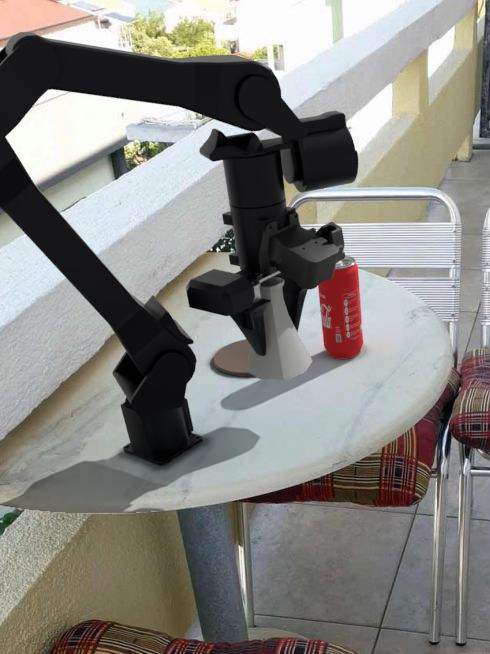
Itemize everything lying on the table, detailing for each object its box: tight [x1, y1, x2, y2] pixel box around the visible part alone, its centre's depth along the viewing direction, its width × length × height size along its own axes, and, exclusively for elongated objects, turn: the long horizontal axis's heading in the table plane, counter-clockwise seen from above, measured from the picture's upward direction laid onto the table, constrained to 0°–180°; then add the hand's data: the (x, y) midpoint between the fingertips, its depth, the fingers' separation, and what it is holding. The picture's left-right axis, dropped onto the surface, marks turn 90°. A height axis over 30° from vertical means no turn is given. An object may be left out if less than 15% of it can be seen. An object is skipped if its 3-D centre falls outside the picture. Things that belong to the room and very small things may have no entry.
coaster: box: [213, 338, 255, 377], centre depth 113 cm, size 11×11×1 cm
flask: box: [246, 277, 313, 381], centre depth 94 cm, size 7×7×10 cm
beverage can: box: [317, 255, 364, 360], centre depth 110 cm, size 5×5×12 cm
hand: (277, 346), depth 96 cm, fingers closed on flask, 5 cm apart
